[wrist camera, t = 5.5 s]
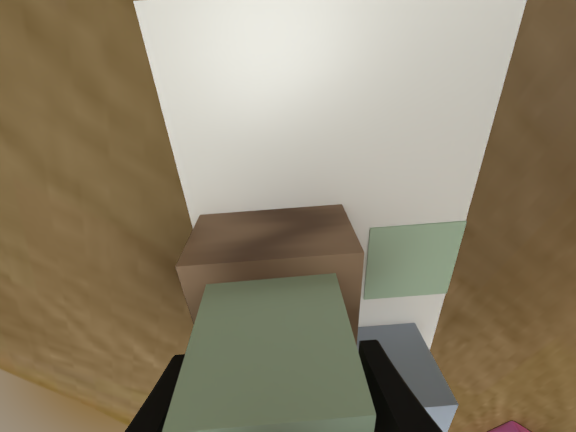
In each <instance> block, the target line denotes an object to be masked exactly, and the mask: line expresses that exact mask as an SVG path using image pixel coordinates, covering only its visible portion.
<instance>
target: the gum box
mask: <svg viewBox="0 0 576 432" xmlns="http://www.w3.org/2000/svg"><path fill="white" fill-rule="evenodd" d="M488 432H531V431H529V430H527V429H526V428H524V427H522V426H521V425H519V424H518V423H516V422H514V421H509V422H507V423H505V424H503V425H501V426H499V427H497V428H494V429H492V430H490V431H488Z"/></svg>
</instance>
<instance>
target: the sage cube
mask: <svg viewBox="0 0 576 432" xmlns="http://www.w3.org/2000/svg"><path fill="white" fill-rule="evenodd" d="M375 421H376V412H375V409H374V405H373V402H372V398H371V395H370V391H369V388H368V384H367V381H366V377H365V374H364V370H363V367H362V363H361V360H360V356H359V353H358V349H357V346H356V342H355V339H354V335H353V332H352V328H351V325H350V321H349V318H348V314H347V311H346V307H345V304H344V300H343V297H342V293H341V290H340V286H339V283H338V279H337V276H336V273H331V274H320V275H308V276H296V277H285V278H273V279H262V280H250V281H239V282H227V283H216V284H206V286H205V290H204V293H203V296H202V300H201V303H200V306H199V310H198V313H197V316H196V320H195V323H194V326H193V330H192V333H191V336H190V340H189V343H188V346H187V350H186V353H185V356H184V360H183V363H182V366H181V370H180V373H179V376H178V380H177V383H176V386H175V390H174V393H173V396H172V400H171V403H170V406H169V410H168V413H167V416H166V420H165V423H164V426H163V430H162V432H374V428H375Z"/></svg>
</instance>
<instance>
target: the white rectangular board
mask: <svg viewBox="0 0 576 432" xmlns="http://www.w3.org/2000/svg"><path fill="white" fill-rule="evenodd" d="M526 1H527V0H142V1H133V2H134V5H135V9H136V13H137V17H138V21H139V24H140V28H141V32H142V36H143V40H144V44H145V47H146V51H147V55H148V59H149V63H150V66H151V70H152V74H153V78H154V82H155V86H156V89H157V93H158V97H159V101H160V105H161V108H162V112H163V116H164V120H165V124H166V128H167V131H168V135H169V139H170V143H171V147H172V150H173V154H174V158H175V162H176V166H177V170H178V173H179V177H180V181H181V185H182V189H183V192H184V196H185V200H186V204H187V208H188V212H189V215H190V219H191V223H192V227H193V228H194V226H195V224H196V222H197V220H198V218H199V215H203V214H216V213H230V212H243V211H257V210H270V209H283V208H297V207H310V206H323V205H337V204H342V205H343V207H344V210H345V212H346V214H347V216H348V218H349V220H350V222H351V225H352V227H353V229H354V231H355V233H356V235H357V238H358V240H359V242H360V244H361V246H362V248H363V250H364V263H363V275H362V287H361V299H360V311H359V323H358V327H366V326H379V325H392V324H405V323H415V324H416V326H417V328H418V330H419V332H420V333H421V335H422V337H423V339H424V341H425V343H426V345H427V347H428V348H429V350H430V348H431V344H432V340H433V337H434V333H435V329H436V326H437V322H438V319H439V315H440V311H441V308H442V304H443V301H444V297H445V293H447V291H448V287H449V283H450V280H451V276H452V273H453V269H454V265H455V262H456V258H457V255H458V251H459V248H460V244H461V240H462V237H463V233H464V230H465V226H466V223H467V221H466V218H467V214H468V210H469V207H470V203H471V199H472V196H473V192H474V189H475V185H476V181H477V178H478V174H479V171H480V167H481V163H482V160H483V156H484V153H485V149H486V145H487V142H488V138H489V134H490V131H491V127H492V124H493V120H494V116H495V113H496V109H497V106H498V102H499V98H500V95H501V91H502V88H503V84H504V80H505V77H506V73H507V69H508V66H509V62H510V59H511V55H512V51H513V48H514V44H515V41H516V37H517V33H518V30H519V26H520V23H521V19H522V15H523V12H524V8H525V4H526Z"/></svg>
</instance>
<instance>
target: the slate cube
mask: <svg viewBox="0 0 576 432" xmlns="http://www.w3.org/2000/svg"><path fill="white" fill-rule="evenodd" d="M375 339H376V340H378V341H379V343H380V344H381V346H382V348H383V349H384V351H385V353H386V354H387V356H388V357H389V359H390V360H391V362H392V364H393V365H394V367H395V368H396V370H397V371H398V372H399V374H400V375H401V377H402V378H403V380H404V381H405V383H406V384H407V385H408V387H409V388H410V390H411V391H412V392H413V394H414V395H415V396H416V398H417V399H418V400H419V402H420V403H421V404H422V406H423V407H424V408H425V410H426V411H427V412H428V414H429V415H430V416H431V417H432V419H433V420H434V421H435V422H436V424H437V425H438V426H439V427H440V429H441V430H442V431H443V432H447V431H448V429H449V426H450V424H451V422H452V419H453V417H454V414H455V412H456V409H457V407H458V403H457V401H456V399H455V397H454V395H453V394H452V392H451V390H450V388H449V386H448V384H447V382H446V380H445V379H444V377H443V375H442V373H441V371H440V369H439V367H438V365H437V363H436V362H435V360H434V358H433V356H432V354H431V352H430V350H429V348H428V347H427V345H426V343H425V341H424V339H423V337H422V335H421V333H420V332H419V330H418V328H417V326H416V324H415V323H405V324H392V325H379V326H366V327H358V335H357V349H358V352H359V341H362V340H375Z"/></svg>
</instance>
